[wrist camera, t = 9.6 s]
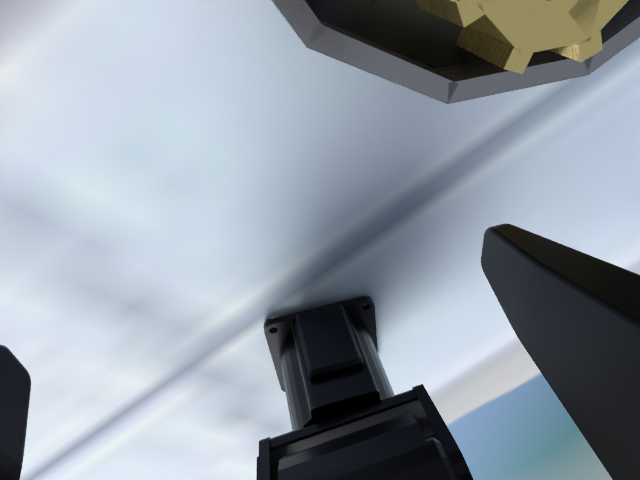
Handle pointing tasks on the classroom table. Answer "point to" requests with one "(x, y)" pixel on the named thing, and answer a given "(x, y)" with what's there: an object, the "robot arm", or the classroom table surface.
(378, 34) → the tray
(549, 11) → the planet gear
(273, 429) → the classroom table surface
